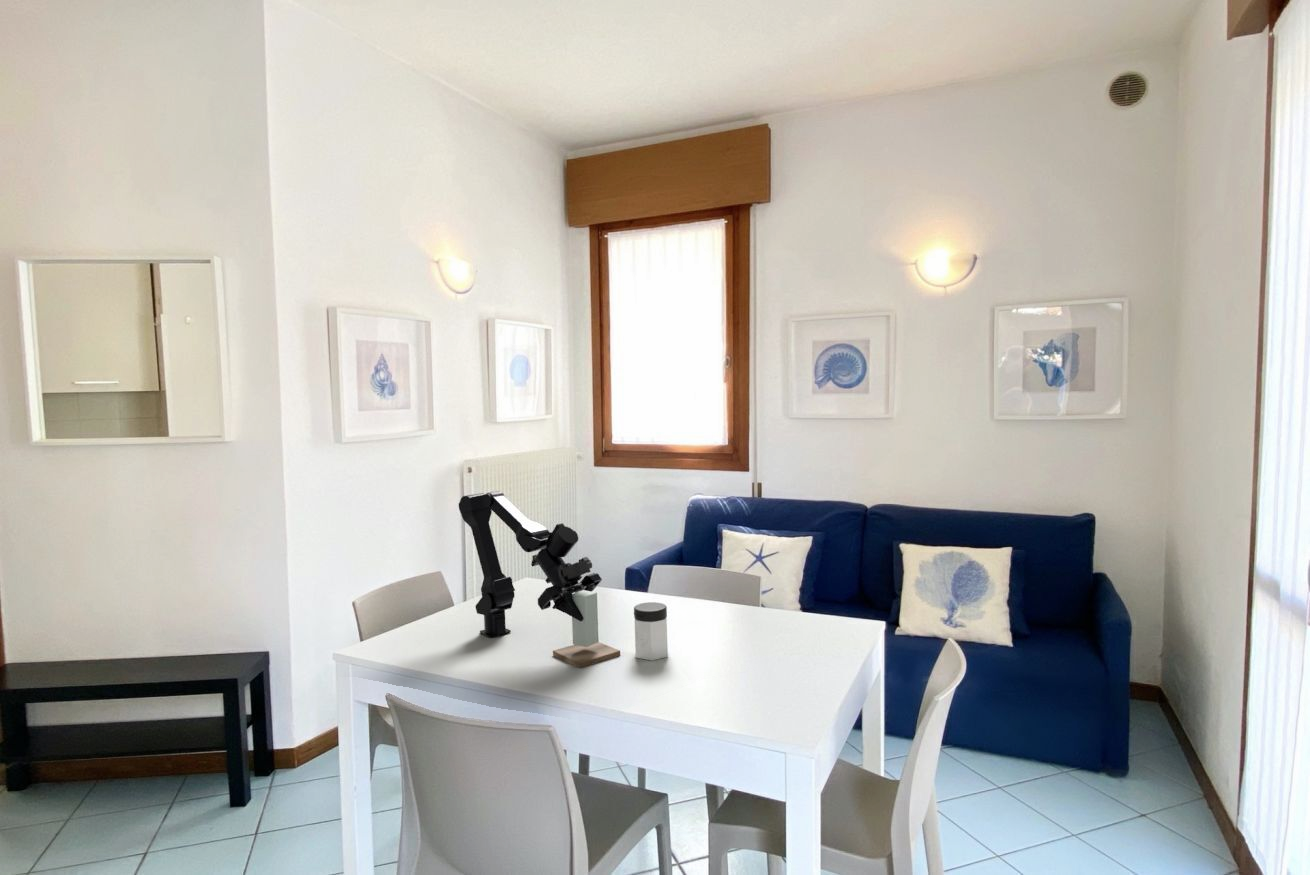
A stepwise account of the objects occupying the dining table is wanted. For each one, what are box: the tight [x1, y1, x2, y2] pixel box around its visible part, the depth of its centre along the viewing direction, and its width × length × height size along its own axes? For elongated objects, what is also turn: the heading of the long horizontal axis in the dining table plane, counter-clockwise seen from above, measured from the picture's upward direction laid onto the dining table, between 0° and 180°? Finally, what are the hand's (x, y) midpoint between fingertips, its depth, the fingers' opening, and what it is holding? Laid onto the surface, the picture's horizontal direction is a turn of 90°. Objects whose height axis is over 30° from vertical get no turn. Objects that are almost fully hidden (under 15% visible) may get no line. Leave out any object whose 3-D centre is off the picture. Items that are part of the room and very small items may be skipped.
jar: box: [633, 601, 669, 661], centre depth 174 cm, size 9×8×12 cm
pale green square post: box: [571, 590, 600, 647], centre depth 174 cm, size 4×4×12 cm
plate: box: [552, 641, 621, 669], centre depth 175 cm, size 12×12×1 cm
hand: (589, 617), depth 173 cm, fingers closed on pale green square post, 4 cm apart
